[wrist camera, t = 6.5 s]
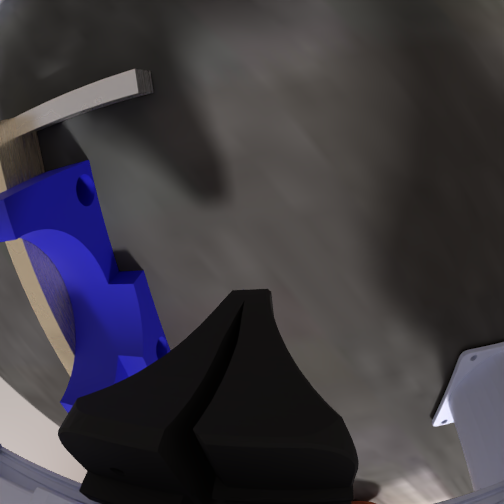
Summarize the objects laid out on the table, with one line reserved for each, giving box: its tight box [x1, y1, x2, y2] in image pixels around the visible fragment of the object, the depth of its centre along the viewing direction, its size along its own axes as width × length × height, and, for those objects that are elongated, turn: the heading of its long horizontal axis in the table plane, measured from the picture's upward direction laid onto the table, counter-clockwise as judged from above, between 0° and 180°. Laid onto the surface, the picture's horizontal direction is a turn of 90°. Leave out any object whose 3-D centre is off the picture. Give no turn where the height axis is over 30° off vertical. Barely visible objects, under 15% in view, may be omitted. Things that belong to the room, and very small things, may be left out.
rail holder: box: [0, 69, 154, 377], centre depth 15 cm, size 8×18×3 cm, turn 7°
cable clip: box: [0, 160, 170, 413], centre depth 14 cm, size 12×4×6 cm, turn 7°
